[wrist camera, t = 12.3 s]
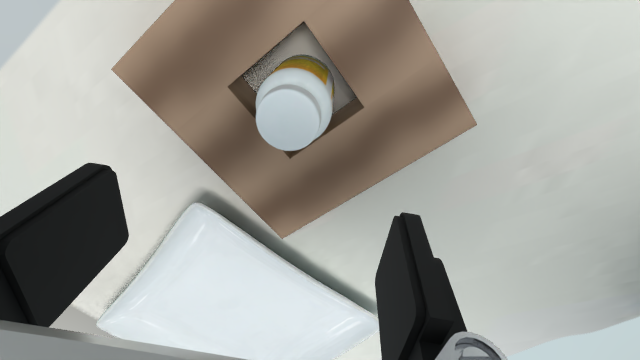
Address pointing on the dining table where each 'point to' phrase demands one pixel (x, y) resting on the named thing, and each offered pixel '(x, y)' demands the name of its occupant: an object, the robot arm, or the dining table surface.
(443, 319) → the robot arm
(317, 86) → the supplement bottle
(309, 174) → the walnut socket block
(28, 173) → the dining table surface
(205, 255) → the square plate
